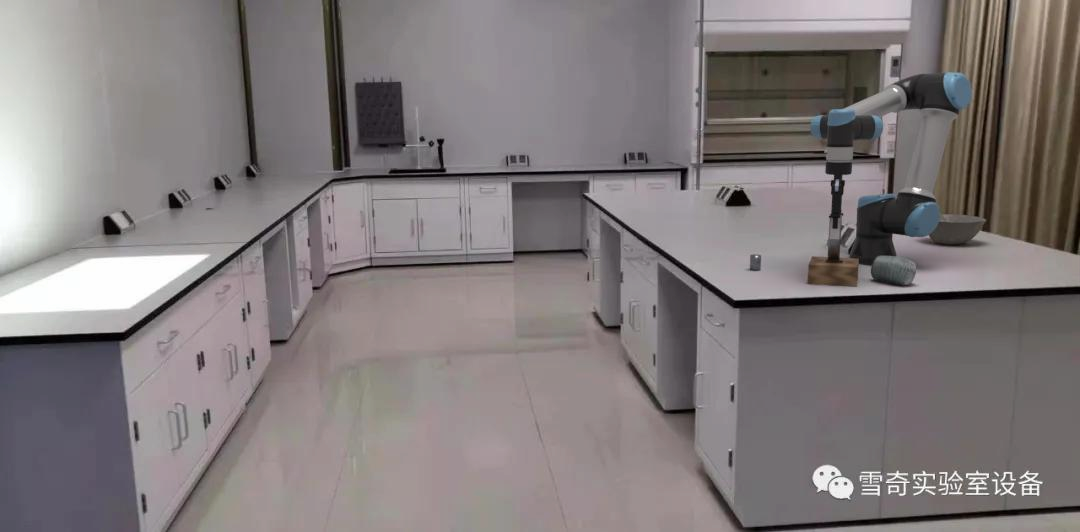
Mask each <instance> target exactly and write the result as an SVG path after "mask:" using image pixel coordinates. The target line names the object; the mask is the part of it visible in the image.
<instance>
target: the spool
mask: <svg viewBox="0 0 1080 532" xmlns="http://www.w3.org/2000/svg"><path fill="white" fill-rule="evenodd" d="M870 266H871V267H870V276H871V278H872V279H874V280H875V281H877V282H885V283H891V284H895V285H896V284H897V285H900V286H908V285H910V284H911V283H913V281H914V279H915V276H916V274H917V266H916V264H915V263H914V262H913V261H911V260H910V259H907V258H905V257H904V258H903V257H900V256H897V257H896V256H878V257H876V258H875V260H874V261H873V263H872V265H870Z"/></svg>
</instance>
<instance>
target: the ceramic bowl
mask: <svg viewBox="0 0 1080 532" xmlns="http://www.w3.org/2000/svg"><path fill="white" fill-rule="evenodd" d="M986 222H987V219H986V218H983V217H979V216H973V215H968V214H967V215H966V214H951V213H949V214H942V213H940V219H939V222H938V225H937V227H936V228H935V230H934V231H933V232H932V233H930V234H929V235H928V237H929V238H930V239H931V240H932V241H933V242H935V243H938V244H944V245H963V244H966V243H967V242H970V241H972V239H974V238H975V237H976V236H977V235H978V234H979V233H980V231H981V229H982V228H983V226H984V224H985V223H986Z"/></svg>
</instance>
